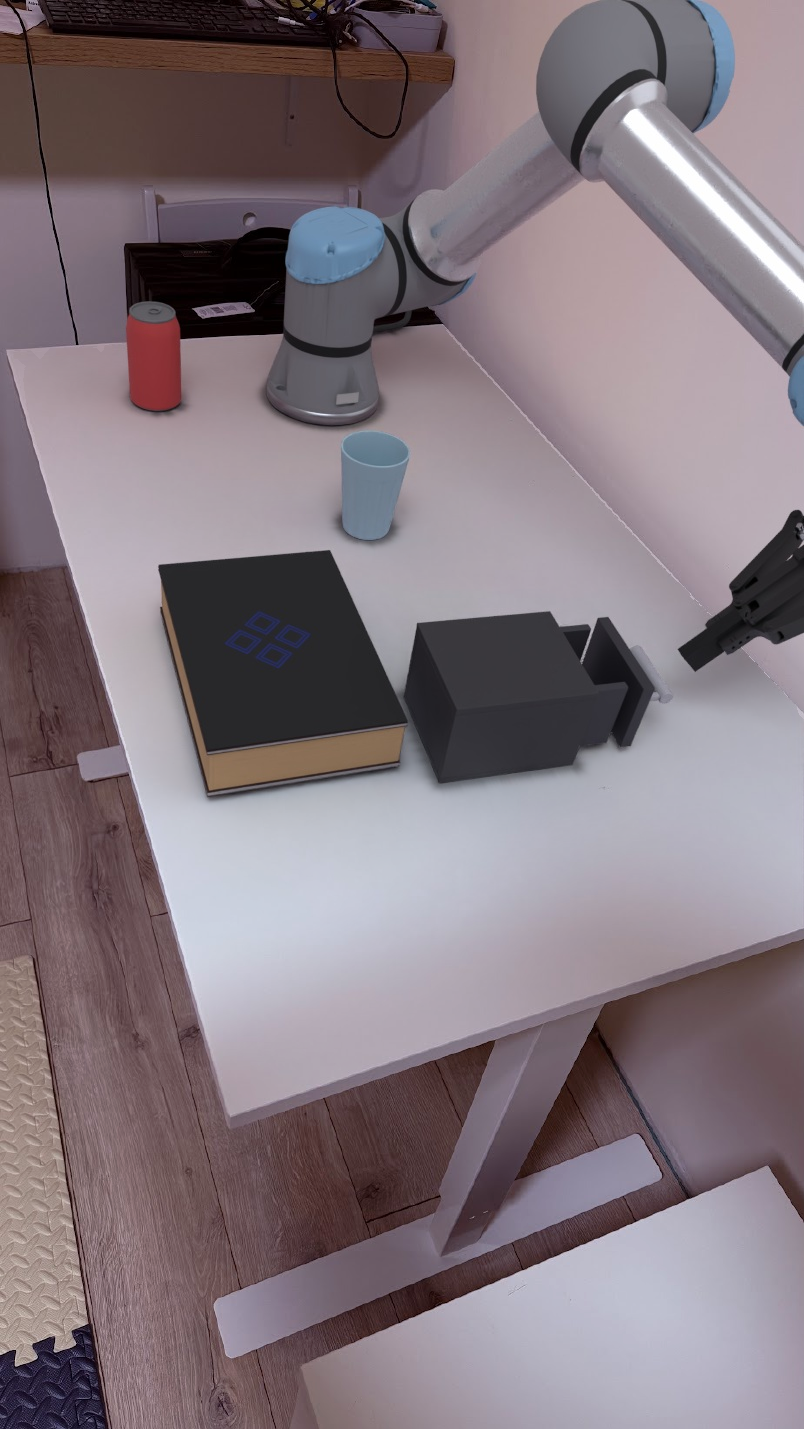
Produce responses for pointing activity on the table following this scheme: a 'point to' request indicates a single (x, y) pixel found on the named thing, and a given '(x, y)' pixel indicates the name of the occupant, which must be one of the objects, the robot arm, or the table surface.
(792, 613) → the robot arm
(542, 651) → the cabinet
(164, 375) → the beer can
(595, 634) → the drawer
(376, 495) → the cup
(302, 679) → the book
